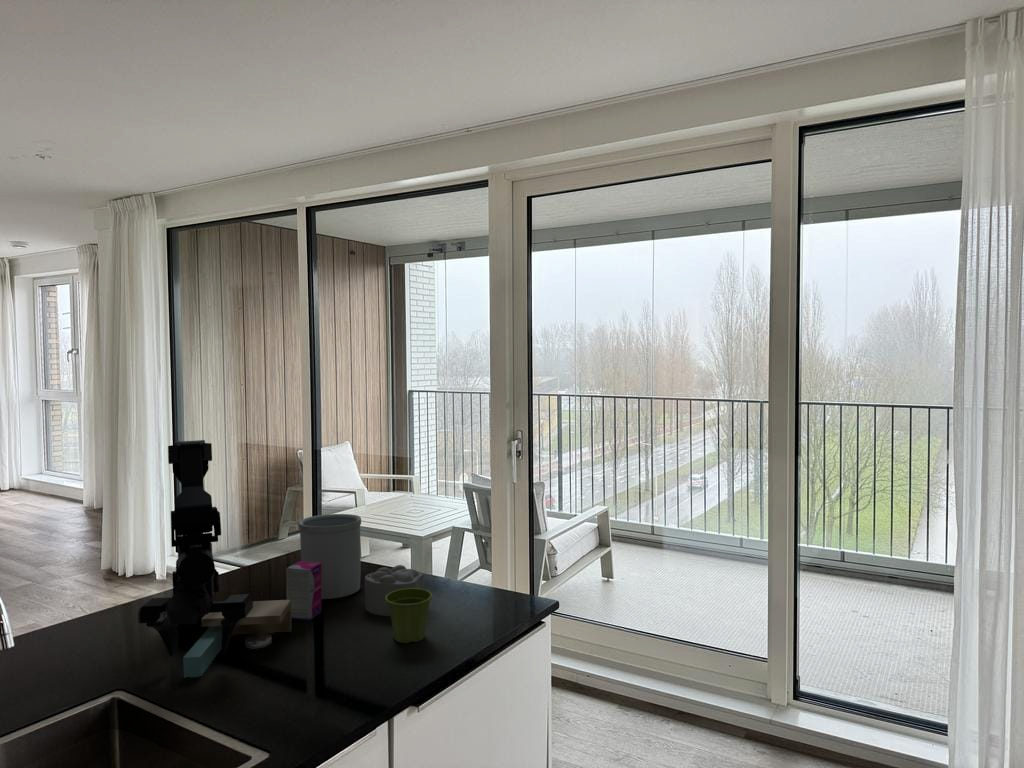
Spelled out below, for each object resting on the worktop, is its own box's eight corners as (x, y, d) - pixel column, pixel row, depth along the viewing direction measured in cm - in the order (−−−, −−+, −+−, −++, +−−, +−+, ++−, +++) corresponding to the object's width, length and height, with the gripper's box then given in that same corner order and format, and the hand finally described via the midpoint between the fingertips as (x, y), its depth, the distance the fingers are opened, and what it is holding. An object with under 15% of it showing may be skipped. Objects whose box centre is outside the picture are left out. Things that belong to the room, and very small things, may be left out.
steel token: (241, 651, 136) (241, 643, 136) (249, 641, 141) (249, 633, 141) (268, 650, 136) (267, 642, 136) (274, 639, 141) (274, 632, 141)
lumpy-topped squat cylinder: (412, 617, 152) (411, 578, 152) (356, 614, 154) (356, 575, 154) (427, 601, 162) (426, 564, 162) (375, 598, 165) (374, 562, 164)
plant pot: (441, 632, 143) (440, 591, 143) (416, 650, 134) (415, 606, 134) (403, 626, 147) (402, 585, 147) (376, 643, 138) (375, 600, 138)
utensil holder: (306, 582, 177) (304, 514, 177) (365, 579, 179) (363, 511, 178) (294, 602, 163) (292, 528, 162) (359, 598, 164) (357, 525, 164)
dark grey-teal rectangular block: (184, 679, 124) (183, 657, 124) (214, 641, 141) (213, 621, 141) (201, 678, 125) (200, 656, 125) (229, 640, 142) (229, 620, 142)
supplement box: (310, 621, 150) (309, 569, 150) (285, 620, 151) (284, 568, 151) (323, 612, 156) (321, 561, 155) (299, 610, 157) (297, 560, 157)
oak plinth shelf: (202, 651, 135) (201, 619, 135) (218, 633, 144) (217, 602, 144) (281, 648, 137) (280, 615, 136) (291, 630, 146) (290, 599, 145)
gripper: (121, 587, 119) (125, 676, 119) (234, 582, 120) (237, 670, 121) (150, 567, 130) (153, 649, 130) (252, 563, 131) (255, 644, 132)
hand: (198, 654), depth 128 cm, fingers open, 9 cm apart
